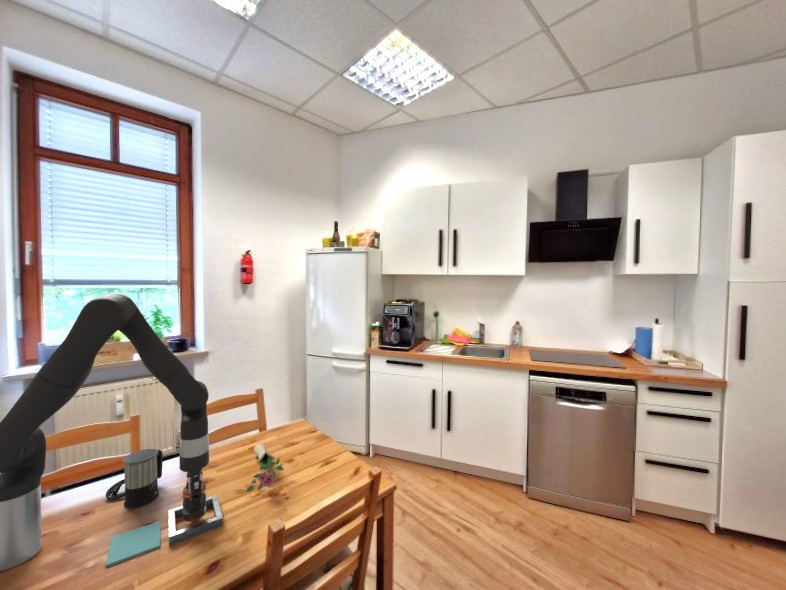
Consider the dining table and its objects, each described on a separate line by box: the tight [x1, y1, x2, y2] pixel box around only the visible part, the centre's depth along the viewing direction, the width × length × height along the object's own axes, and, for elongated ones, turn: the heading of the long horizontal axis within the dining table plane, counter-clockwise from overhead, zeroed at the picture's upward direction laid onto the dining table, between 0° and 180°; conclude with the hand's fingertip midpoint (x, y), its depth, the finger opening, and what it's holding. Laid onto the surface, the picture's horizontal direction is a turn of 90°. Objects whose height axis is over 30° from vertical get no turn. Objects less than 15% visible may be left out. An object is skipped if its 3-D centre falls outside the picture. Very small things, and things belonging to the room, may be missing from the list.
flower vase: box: [245, 442, 285, 493], centre depth 119 cm, size 12×12×35 cm
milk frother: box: [105, 448, 164, 509], centre depth 107 cm, size 14×16×15 cm
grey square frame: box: [167, 494, 224, 547], centre depth 96 cm, size 13×13×2 cm
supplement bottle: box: [182, 481, 207, 523], centre depth 96 cm, size 6×6×11 cm
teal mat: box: [105, 520, 161, 568], centre depth 88 cm, size 11×11×1 cm
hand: (194, 505), depth 96 cm, fingers closed on supplement bottle, 6 cm apart
